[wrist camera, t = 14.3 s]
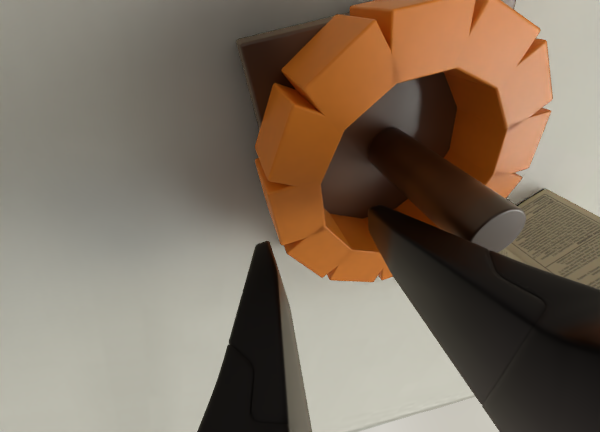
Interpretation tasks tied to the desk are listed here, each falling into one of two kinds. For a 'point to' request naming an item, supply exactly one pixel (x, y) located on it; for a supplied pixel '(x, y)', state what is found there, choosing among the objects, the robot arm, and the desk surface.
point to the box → (559, 239)
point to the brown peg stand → (392, 148)
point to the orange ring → (377, 82)
